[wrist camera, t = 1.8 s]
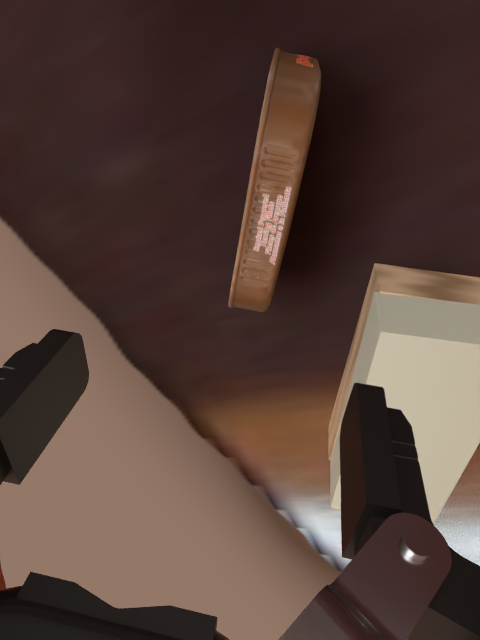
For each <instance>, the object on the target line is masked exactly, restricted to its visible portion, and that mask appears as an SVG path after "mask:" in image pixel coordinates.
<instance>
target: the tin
mask: <svg viewBox="0 0 480 640" xmlns="http://www.w3.org/2000/svg"><path fill="white" fill-rule="evenodd" d="M321 78H322V77H321V70H320V67H319V62H318V60H317V59H315V58H313V57H309V56H304V55H298V54H292V53H287V52H283V51H281V50H280V48H276V49H275V52H274V55H273V59H272V63H271V67H270V72H269V75H268V81H267V86H266V91H265V96H264V102H263V107H262V111H261V117H260V123H259V128H258V134H257V138H256V145H255V150H254V156H253V162H252V168H251V173H250V179H249V185H248V190H247V196H246V203H245V208H244V214H243V220H242V226H241V232H240V238H239V243H238V249H237V255H236V261H235V266H234V272H233V277H232V283H231V290H230V297H229V305H228V306H229V307H230V308H232V307H237V308H242V309H247V310H253V311H260V312H264V311H266V310H267V309H268V307H269V305H270V303H271V300H272V296H273V293H274V289H275V286H276V282H277V278H278V274H279V270H280V267H281V263H282V259H283V255H284V251H285V247H286V243H287V239H288V235H289V231H290V227H291V223H292V219H293V215H294V211H295V207H296V203H297V198H298V194H299V190H300V186H301V181H302V177H303V172H304V168H305V164H306V160H307V156H308V151H309V147H310V142H311V138H312V133H313V128H314V123H315V118H316V113H317V108H318V102H319V96H320V89H321Z"/></svg>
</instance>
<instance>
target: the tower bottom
mask: <svg viewBox="0 0 480 640" xmlns="http://www.w3.org/2000/svg"><path fill="white" fill-rule="evenodd" d="M374 292H377V293H386V294H394V295H402V296H411V297H419V298H427V299H436V300H444V301H453V302H461V303H470V304H478V305H480V278H478V277H471V276H464V275H457V274H449V273H442V272H435V271H428V270H420V269H413V268H406V267H399V266H391V265H384V264H377V263H374V267H373V270H372V274H371V277H370V281H369V285H368V288H367V292H366V295H365V299H364V302H363V306H362V309H361V313H360V317H359V320H358V324H357V327H356V331H355V334H354V338H353V341H352V345H351V348H350V352H349V356H348V359H347V363H346V366H345V370H344V373H343V377H342V380H341V384H340V388H339V391H338V395H337V398H336V402H335V405H334V409H333V412H332V416H331V420H330V423H329V459H328V460H329V461H331V458H332V454H333V450H334V447H335V443H336V439H337V435H338V431H339V427H340V423H341V419H342V415H343V412H344V408H345V404H346V400H347V396H348V392H349V388H350V384H351V380H352V377H353V373H354V369H355V365H356V361H357V357H358V353H359V349H360V345H361V342H362V338H363V334H364V330H365V326H366V322H367V318H368V314H369V310H370V307H371V303H372V299H373V295H374Z"/></svg>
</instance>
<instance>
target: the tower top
mask: <svg viewBox="0 0 480 640" xmlns="http://www.w3.org/2000/svg"><path fill="white" fill-rule="evenodd" d="M354 383H362V384H368V385H373V386H379V387H383V388H384V391H385V398H386V404H387V407H388V408H394V409H399V410H401V411H402V412H403V414H404V415H405V417H406V418H407V420H408V421H409V423H410V424H411V426H412V430H413V435H414V439H415V447H416V449H417V454H418V462H419V464H420V469H421V473H422V478H423V483H424V488H425V493H426V498H427V503H428V507H429V512H430V517H431V520H432V523H433V524H434V522H435V521H436V519H437V517H438V515H439V514H440V512H441V510H442V508H443V506H444V505H445V503H446V501H447V499H448V498H449V496H450V494H451V492H452V491H453V489H454V487H455V485H456V484H457V482H458V480H459V478H460V476H461V475H462V473H463V471H464V469H465V468H466V466H467V464H468V462H469V461H470V459H471V457H472V455H473V453H474V452H475V450H476V448H477V446H478V445H479V443H480V305H478V304H470V303H461V302H453V301H444V300H436V299H427V298H419V297H411V296H402V295H394V294H386V293H377V292H374V295H373V299H372V303H371V307H370V310H369V314H368V318H367V322H366V326H365V330H364V334H363V338H362V342H361V345H360V349H359V353H358V357H357V361H356V365H355V369H354V373H353V377H352V380H351V384H350V388H349V392H348V396H347V400H346V404H345V408H344V412H343V415H342V419H343V416H344V413H345V410H346V407H347V404H348V400H349V397H350V394H351V391H352V388H353V385H354ZM342 419H341V423H340V427H339V431H338V435H337V439H336V443H335V447H334V450H333V454H332V458H331V481H330V508H335V509H340V510H341V484H340V430H341V424H342Z"/></svg>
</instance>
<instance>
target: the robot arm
mask: <svg viewBox="0 0 480 640" xmlns="http://www.w3.org/2000/svg"><path fill="white" fill-rule="evenodd" d="M88 379H89V370H88V365H87V359H86V354H85V349H84V344H83V339H82V336H81V335H80V334H79V333H74V332H68V331H63V330H57V329H53V330H51V331H49V332H48V333H47V335H46V336H45V337H44V338H43V339H42V340H41V341H40V342H39V343H38V344H35V343H32V344H30V345H28V346H26V347H25V348H23V349H21V350H19V351H18V352H16V353H15V354H14V355H13V356H12V357H11V358H10V359H9V360H8V361H7V362H6V363H5V364H4V365H3V367H2V368H0V485H1V483H2V482H3V481H5V482H9V483H14V484H19V485H20V483H21V482H22V480H23V479H24V477H25V476H26V475H27V473H28V472H29V470H30V469H31V467H32V466H33V464H34V463H35V462H36V460H37V459H38V457H39V456H40V454H41V453H42V452H43V450H44V449H45V447H46V446H47V444H48V443H49V441H50V440H51V438H52V437H53V436H54V434H55V433H56V431H57V430H58V428H59V427H60V425H61V424H62V423H63V421H64V420H65V418H66V417H67V415H68V414H69V412H70V411H71V410H72V408H73V407H74V405H75V404H76V402H77V401H78V400H79V398H80V397H81V395H82V394H83V392H84V391H85V389H86V386H87V383H88ZM340 484H341V532H342V557H344V558H348V559H352V561H351V562H350V563H349V564H348V565H347V566H346V568H345V569H344V570H343V571H342V572H341V574H340V575H339V576H338V577H337V578H336V580H335V581H334V582H333V583H332V584H330V585H327V586H326V587H324V588H323V589H322V590H321V591H320V592H319V593H318V594H317V595H316V596H315V598H314V599H313V600H312V601H311V602H310V604H309V605H308V606H307V607H306V608H305V609H304V611H303V612H302V613H301V614H300V615H299V616H298V618H297V619H296V620H295V621H294V622H293V623H292V625H291V626H290V627H289V628H288V629H287V631H286V632H285V633H284V634H283V635H282V636H281V637H280V639H279V640H480V566H479V565H477V564H475V563H473V562H471V561H469V560H467V559H465V558H464V557H462V556H460V555H459V554H458V553H456V552H455V551H454V550H453V549H451V548H450V547H449V546H448V544H447V542H446V540H445V538H444V537H443V536H442V534H441V533H440V532H439V531H438V529H437V528H436V527H434V525H433V523H432V520H431V517H430V512H429V507H428V503H427V498H426V493H425V488H424V483H423V478H422V473H421V469H420V464H419V462H418V454H417V449H416V447H415V439H414V435H413V430H412V426H411V424H410V423H409V421H408V420H407V418H406V417H405V415H404V414H403V412H402V411H401V410H399V409H394V408H388V407H387V404H386V398H385V391H384V388H383V387H379V386H373V385H368V384H362V383H354V385H353V388H352V391H351V394H350V397H349V400H348V404H347V407H346V410H345V413H344V416H343V419H342V424H341V430H340ZM216 626H217V617H215V616H210V615H206V614H202V613H198V612H194V611H190V610H186V609H182V608H178V607H174V606H155V607H141V608H124V609H118V608H114V607H112V606H111V605H109V604H107V603H106V602H104V601H103V600H101V599H100V598H98V597H97V596H95V595H93V594H92V593H90V592H89V591H87V590H86V589H84V588H82V587H81V586H79V585H78V584H76V583H74V582H71V581H66V580H62V579H58V578H54V577H50V576H46V575H42V574H38V573H33V572H30V574H29V576H28V577H27V579H26V581H25V583H24V585H23V586H18V587H14V588H8V589H6V584H5V580H4V576H3V573H2V569H1V563H0V640H229V639H228V638H227V637H225V636H224V635H222V634H221V633H219V632H217V631H216Z"/></svg>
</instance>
